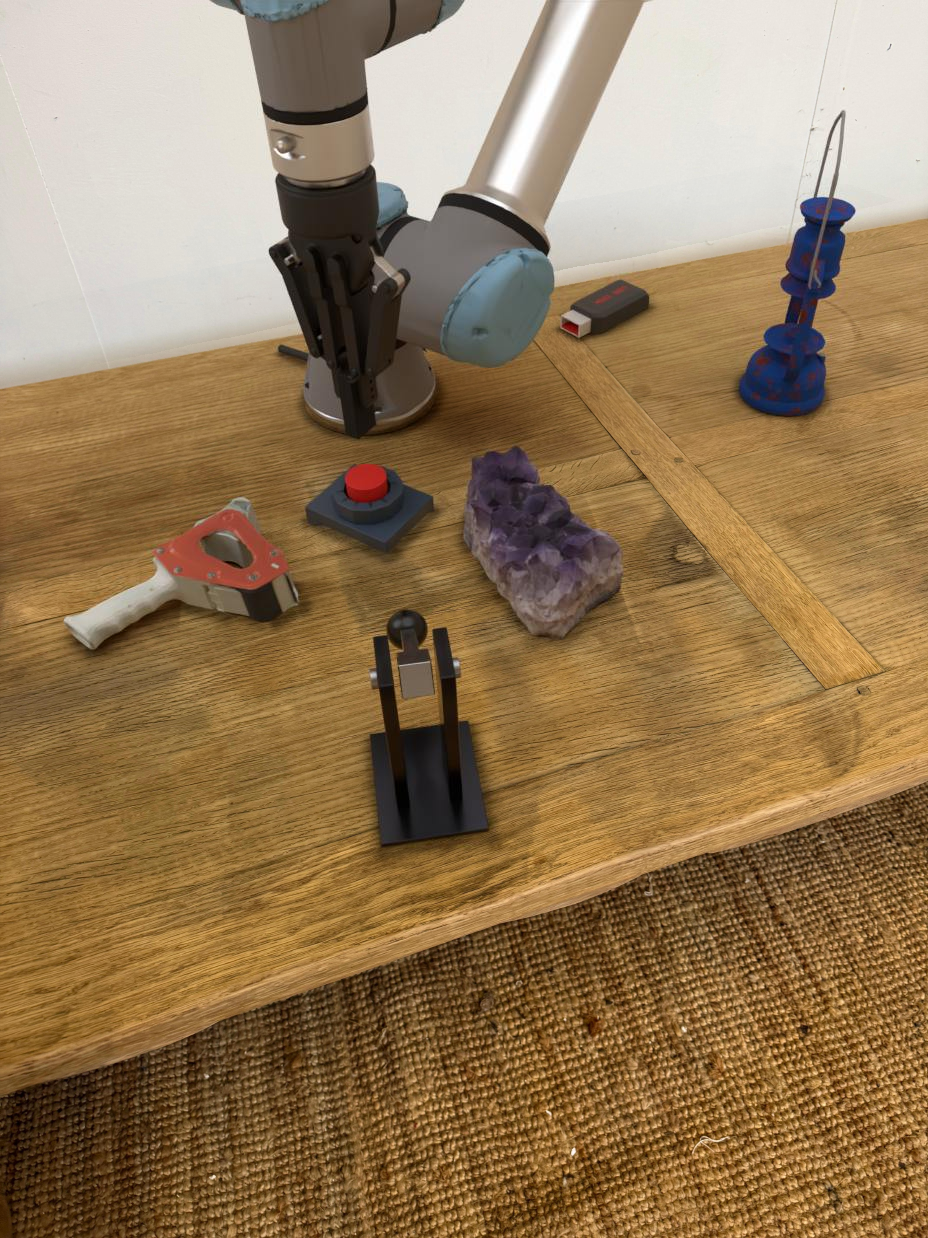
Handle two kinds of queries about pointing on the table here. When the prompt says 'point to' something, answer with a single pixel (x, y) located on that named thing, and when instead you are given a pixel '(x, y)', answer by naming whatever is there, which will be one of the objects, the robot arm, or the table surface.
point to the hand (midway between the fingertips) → (361, 429)
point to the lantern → (801, 309)
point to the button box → (371, 512)
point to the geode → (537, 545)
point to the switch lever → (411, 653)
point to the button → (366, 483)
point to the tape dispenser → (202, 577)
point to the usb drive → (604, 309)
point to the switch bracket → (424, 760)
